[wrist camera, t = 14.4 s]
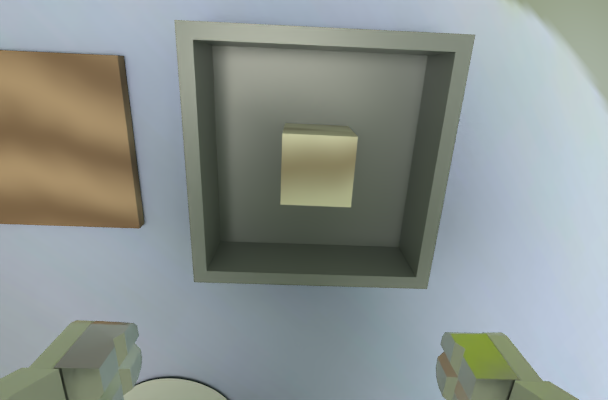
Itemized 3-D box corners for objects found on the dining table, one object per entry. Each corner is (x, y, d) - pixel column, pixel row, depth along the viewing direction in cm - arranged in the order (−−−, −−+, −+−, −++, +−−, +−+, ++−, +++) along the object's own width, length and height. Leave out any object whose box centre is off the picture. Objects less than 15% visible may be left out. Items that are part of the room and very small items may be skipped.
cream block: (342, 185, 30) (350, 207, 25) (283, 183, 30) (280, 204, 25) (348, 125, 28) (357, 137, 23) (285, 123, 28) (282, 133, 23)
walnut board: (144, 223, 32) (139, 228, 31) (-15, 218, 31) (-25, 222, 30) (123, 56, 27) (117, 55, 26) (-65, 47, 27) (-78, 46, 26)
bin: (405, 251, 33) (426, 288, 27) (212, 245, 33) (194, 282, 27) (438, 42, 27) (475, 34, 21) (201, 31, 26) (174, 20, 21)
